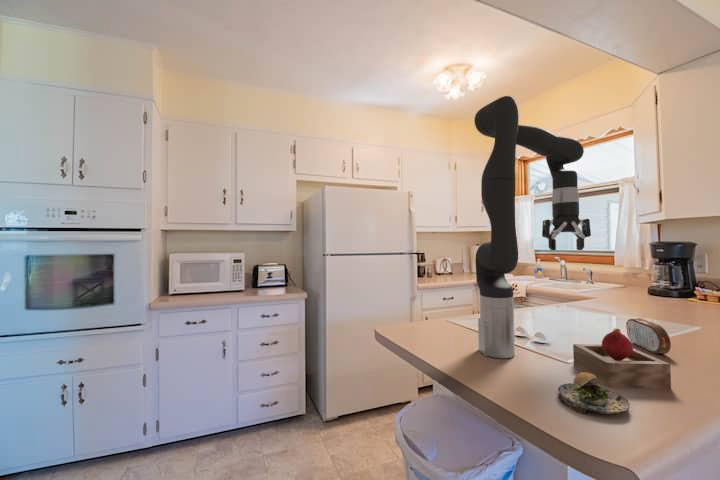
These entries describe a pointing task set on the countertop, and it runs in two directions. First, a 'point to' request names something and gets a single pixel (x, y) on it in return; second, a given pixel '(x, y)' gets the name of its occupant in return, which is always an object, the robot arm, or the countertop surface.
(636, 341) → the tin
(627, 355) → the onion
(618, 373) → the open wooden tray box
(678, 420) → the countertop surface
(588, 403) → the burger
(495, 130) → the robot arm
